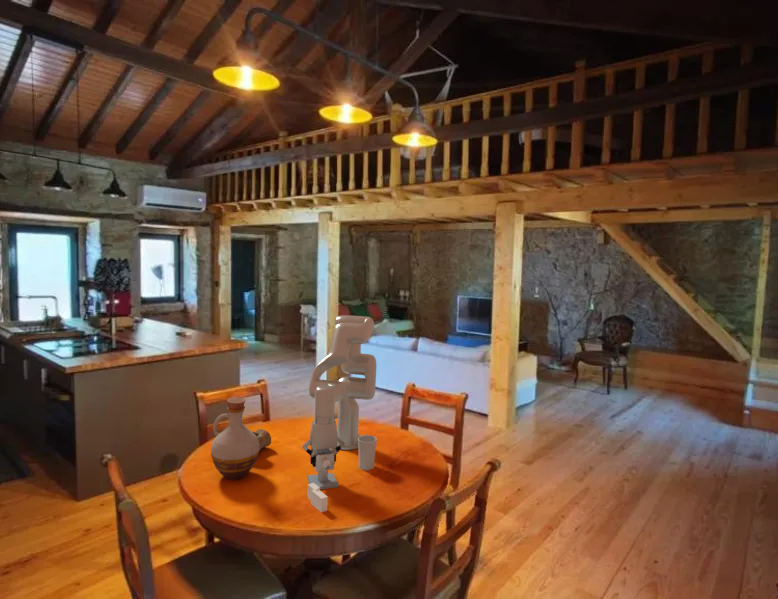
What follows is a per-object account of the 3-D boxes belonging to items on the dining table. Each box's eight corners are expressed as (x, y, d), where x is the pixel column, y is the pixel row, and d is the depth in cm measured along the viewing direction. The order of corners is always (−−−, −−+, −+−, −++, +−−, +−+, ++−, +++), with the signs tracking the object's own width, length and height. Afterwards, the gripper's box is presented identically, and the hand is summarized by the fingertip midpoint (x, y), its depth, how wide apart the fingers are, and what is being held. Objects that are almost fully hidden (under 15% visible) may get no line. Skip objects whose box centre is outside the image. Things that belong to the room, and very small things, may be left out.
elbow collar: (312, 463, 183) (313, 448, 182) (330, 461, 185) (330, 446, 185) (317, 475, 173) (318, 459, 173) (336, 473, 175) (336, 457, 175)
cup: (380, 467, 197) (381, 438, 196) (366, 473, 191) (367, 443, 190) (366, 461, 202) (367, 433, 201) (352, 466, 196) (353, 438, 195)
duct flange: (332, 475, 188) (333, 450, 187) (338, 487, 178) (339, 461, 177) (307, 478, 184) (307, 453, 184) (311, 490, 175) (312, 464, 174)
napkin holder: (331, 516, 159) (332, 499, 159) (297, 515, 159) (298, 498, 158) (336, 494, 174) (336, 479, 174) (305, 493, 174) (305, 478, 173)
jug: (196, 479, 180) (196, 401, 178) (228, 461, 197) (229, 389, 194) (238, 490, 173) (239, 409, 170) (268, 470, 190) (269, 396, 187)
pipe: (273, 447, 212) (273, 425, 212) (256, 462, 197) (257, 439, 196) (254, 445, 214) (254, 423, 213) (236, 460, 198) (236, 436, 197)
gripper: (344, 413, 186) (343, 458, 187) (299, 417, 180) (298, 462, 181) (349, 420, 179) (347, 466, 180) (302, 423, 173) (301, 471, 174)
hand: (323, 464), depth 181 cm, fingers closed on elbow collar, 6 cm apart
